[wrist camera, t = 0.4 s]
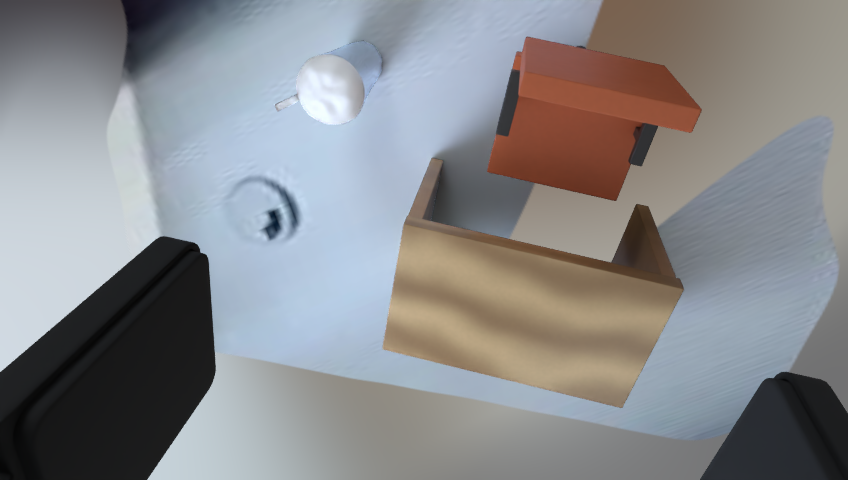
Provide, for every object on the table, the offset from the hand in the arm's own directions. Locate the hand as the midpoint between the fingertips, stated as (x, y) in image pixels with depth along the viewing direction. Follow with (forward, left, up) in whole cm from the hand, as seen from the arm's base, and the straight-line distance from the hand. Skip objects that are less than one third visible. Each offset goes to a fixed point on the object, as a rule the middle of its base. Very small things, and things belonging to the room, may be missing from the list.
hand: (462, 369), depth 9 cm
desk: (+17, +5, -35) cm, 39 cm away
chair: (+5, +5, -35) cm, 36 cm away
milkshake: (+5, -11, -36) cm, 38 cm away
